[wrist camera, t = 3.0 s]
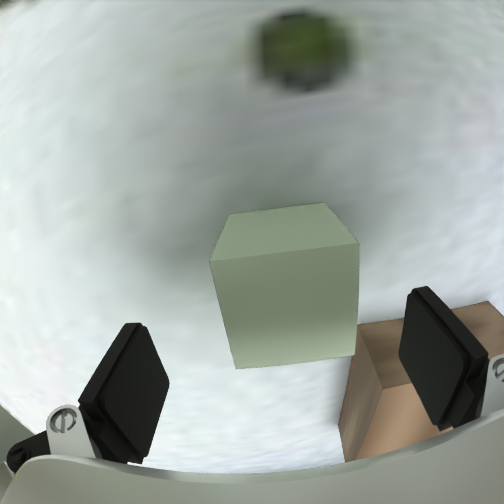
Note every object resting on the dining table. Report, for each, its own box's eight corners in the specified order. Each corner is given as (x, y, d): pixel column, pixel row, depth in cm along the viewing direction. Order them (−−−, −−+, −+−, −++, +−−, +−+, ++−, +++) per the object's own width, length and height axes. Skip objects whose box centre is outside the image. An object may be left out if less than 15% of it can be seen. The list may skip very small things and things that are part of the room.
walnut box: (486, 299, 17) (527, 342, 11) (445, 397, 21) (466, 439, 16) (355, 322, 18) (383, 389, 12) (337, 422, 22) (347, 476, 17)
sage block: (324, 202, 15) (359, 242, 9) (328, 286, 16) (354, 354, 11) (229, 214, 15) (209, 261, 10) (244, 296, 17) (235, 369, 11)
